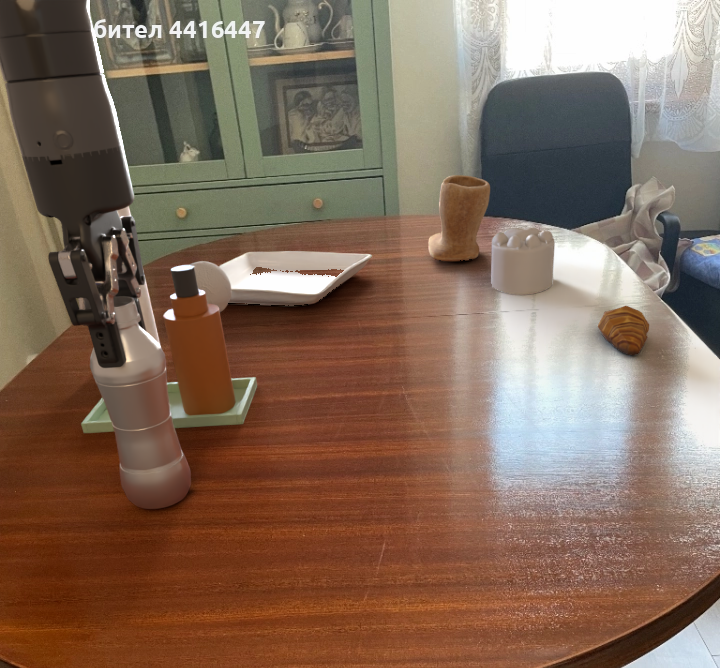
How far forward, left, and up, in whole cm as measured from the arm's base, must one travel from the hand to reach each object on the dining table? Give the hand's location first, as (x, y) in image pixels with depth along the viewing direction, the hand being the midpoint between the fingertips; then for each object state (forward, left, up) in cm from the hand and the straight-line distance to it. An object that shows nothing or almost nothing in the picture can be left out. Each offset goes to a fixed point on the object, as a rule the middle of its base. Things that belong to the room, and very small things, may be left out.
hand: (124, 351), depth 64 cm
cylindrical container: (-14, +39, -16) cm, 44 cm away
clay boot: (+37, +88, -16) cm, 97 cm away
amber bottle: (+1, +21, -15) cm, 26 cm away
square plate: (+3, +73, -16) cm, 75 cm away
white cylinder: (-1, +34, -16) cm, 37 cm away
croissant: (+55, +35, -16) cm, 67 cm away
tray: (-4, +21, -16) cm, 26 cm away
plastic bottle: (0, 0, -16) cm, 16 cm away
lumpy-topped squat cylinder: (+46, +66, -16) cm, 82 cm away
